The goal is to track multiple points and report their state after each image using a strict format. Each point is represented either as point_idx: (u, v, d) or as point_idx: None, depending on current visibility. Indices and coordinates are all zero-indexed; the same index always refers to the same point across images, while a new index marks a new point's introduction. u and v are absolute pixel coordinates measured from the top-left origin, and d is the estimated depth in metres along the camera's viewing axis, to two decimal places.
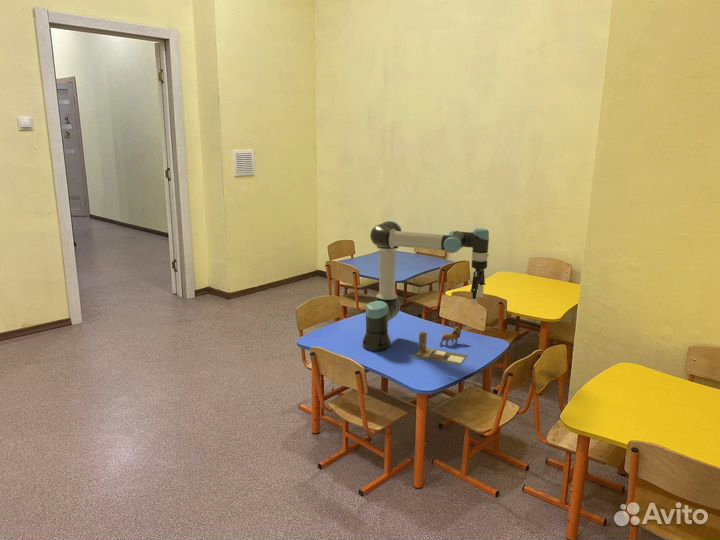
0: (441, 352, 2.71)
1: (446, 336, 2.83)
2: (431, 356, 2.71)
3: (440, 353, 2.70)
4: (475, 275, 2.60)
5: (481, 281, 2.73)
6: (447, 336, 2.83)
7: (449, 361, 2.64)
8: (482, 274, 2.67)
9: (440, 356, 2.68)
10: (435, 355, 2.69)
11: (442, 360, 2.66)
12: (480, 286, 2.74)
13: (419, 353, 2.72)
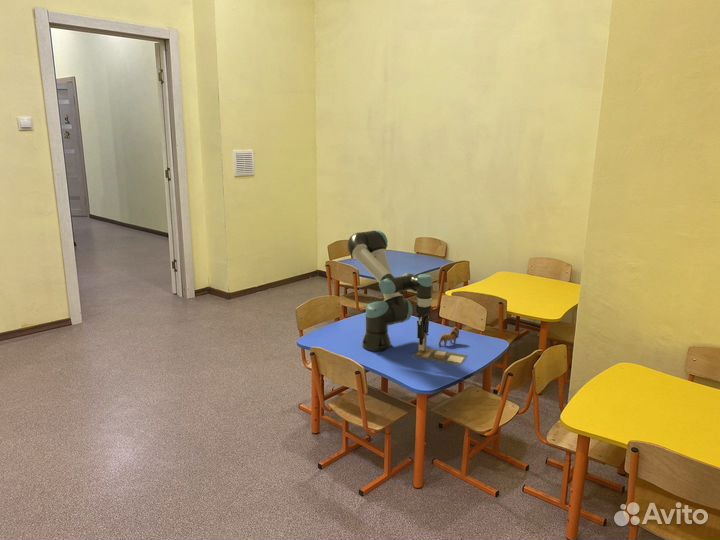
0: (441, 352, 2.71)
1: (445, 336, 2.83)
2: (431, 356, 2.71)
3: (440, 353, 2.70)
4: (419, 324, 2.65)
5: (425, 329, 2.73)
6: (446, 336, 2.83)
7: (449, 361, 2.64)
8: (426, 319, 2.70)
9: (440, 356, 2.68)
10: (435, 355, 2.69)
11: (442, 360, 2.66)
12: None
13: (419, 353, 2.72)
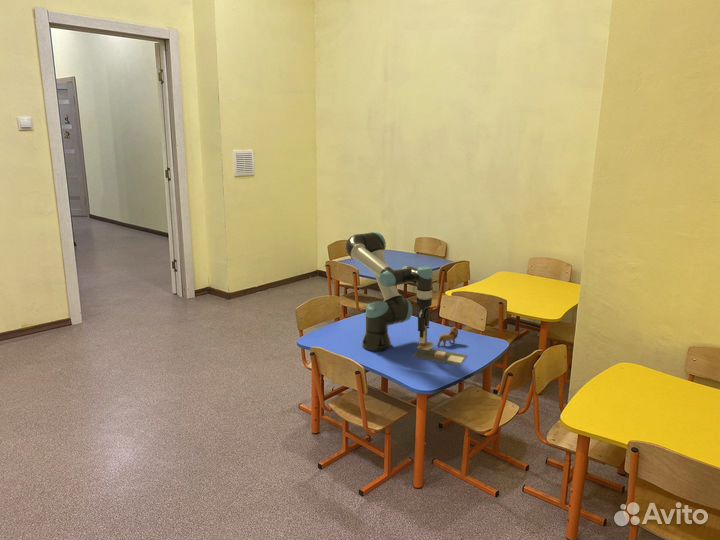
0: (441, 352, 2.71)
1: (444, 337, 2.82)
2: (431, 356, 2.71)
3: (440, 353, 2.70)
4: (419, 316, 2.64)
5: (425, 322, 2.72)
6: (445, 337, 2.82)
7: (449, 361, 2.64)
8: (427, 311, 2.69)
9: (440, 356, 2.68)
10: (435, 355, 2.69)
11: (442, 360, 2.66)
12: None
13: (420, 346, 2.71)
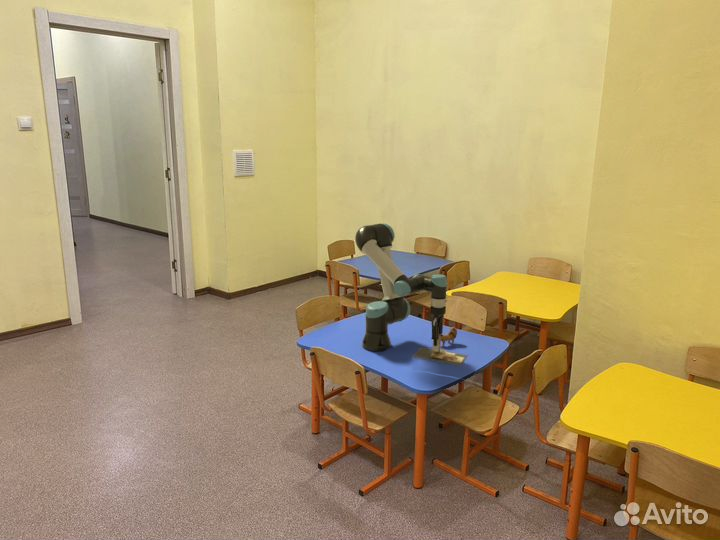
0: (450, 353, 2.69)
1: (443, 337, 2.82)
2: None
3: (449, 355, 2.68)
4: (433, 325, 2.62)
5: (439, 330, 2.70)
6: (444, 337, 2.82)
7: (449, 361, 2.64)
8: (441, 320, 2.67)
9: (450, 358, 2.66)
10: (444, 357, 2.67)
11: (442, 360, 2.66)
12: None
13: (433, 354, 2.69)
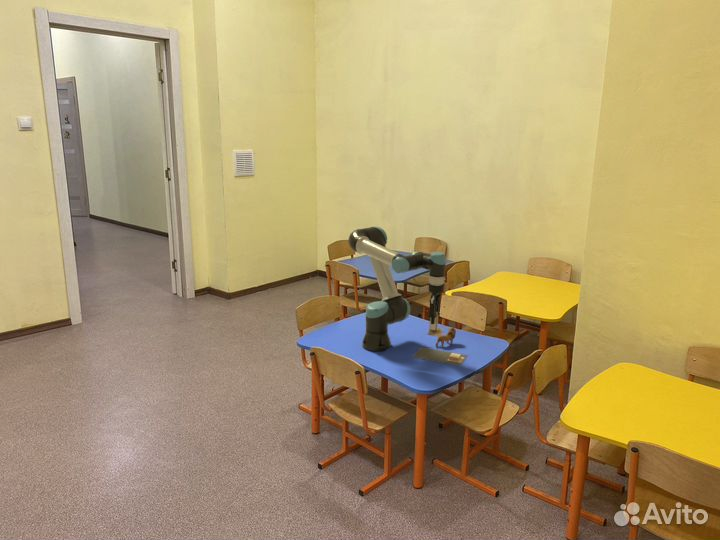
0: (456, 354, 2.68)
1: (442, 337, 2.81)
2: (431, 356, 2.71)
3: (455, 356, 2.67)
4: (431, 302, 2.60)
5: (436, 309, 2.68)
6: (443, 337, 2.82)
7: (449, 361, 2.64)
8: (439, 298, 2.65)
9: (455, 359, 2.65)
10: (450, 358, 2.66)
11: (442, 360, 2.66)
12: None
13: (430, 332, 2.67)
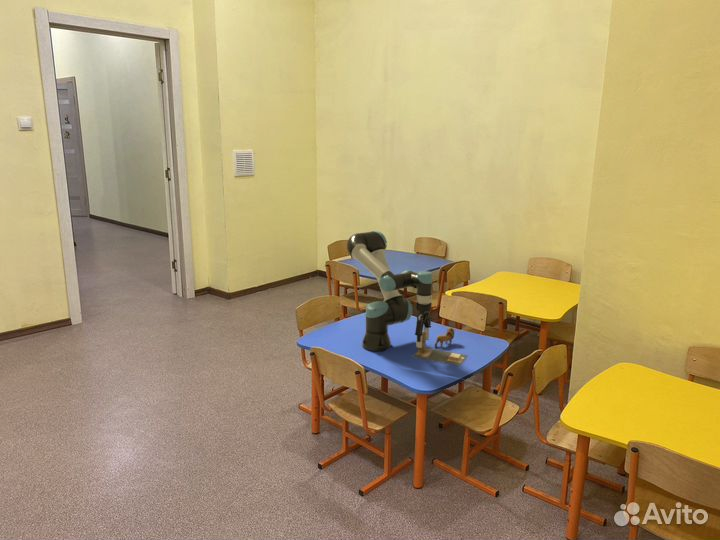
0: (456, 354, 2.68)
1: (441, 337, 2.81)
2: (431, 356, 2.71)
3: (455, 356, 2.67)
4: (419, 319, 2.64)
5: (426, 323, 2.75)
6: (442, 337, 2.81)
7: (449, 361, 2.64)
8: (427, 316, 2.70)
9: (455, 359, 2.65)
10: (450, 358, 2.66)
11: (442, 360, 2.66)
12: (426, 329, 2.77)
13: (418, 353, 2.72)
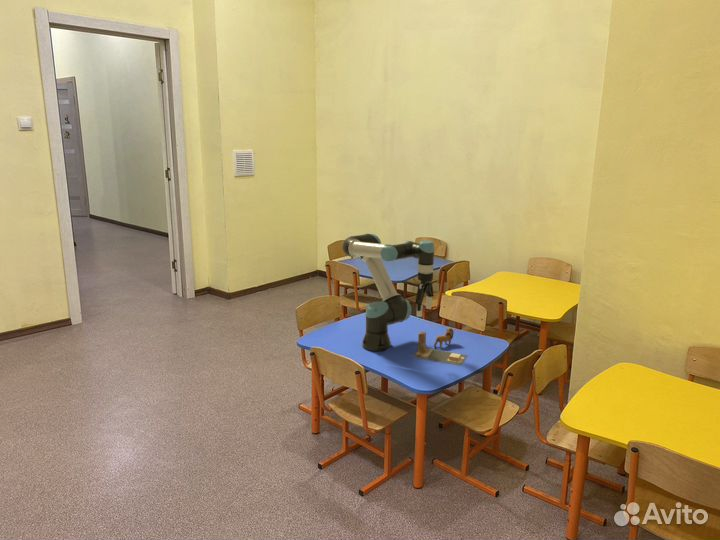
0: (456, 354, 2.68)
1: (440, 338, 2.81)
2: (431, 356, 2.71)
3: (455, 356, 2.67)
4: (420, 287, 2.61)
5: (429, 293, 2.73)
6: (441, 338, 2.81)
7: (449, 361, 2.64)
8: (428, 286, 2.68)
9: (455, 359, 2.65)
10: (450, 358, 2.66)
11: (442, 360, 2.66)
12: (428, 298, 2.75)
13: (418, 353, 2.72)
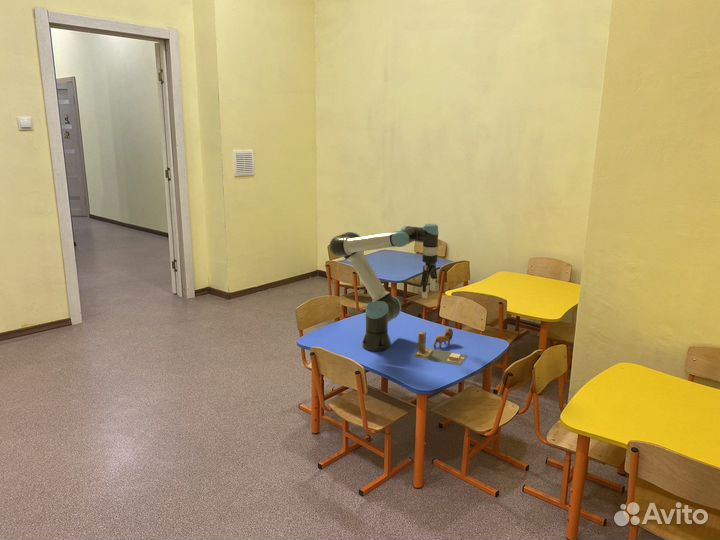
0: (456, 354, 2.68)
1: (439, 338, 2.80)
2: (431, 356, 2.71)
3: (455, 356, 2.67)
4: (425, 269, 2.69)
5: (433, 275, 2.81)
6: (440, 338, 2.81)
7: (449, 361, 2.64)
8: (433, 268, 2.76)
9: (455, 359, 2.65)
10: (450, 358, 2.66)
11: (442, 360, 2.66)
12: (432, 280, 2.83)
13: (418, 353, 2.72)
